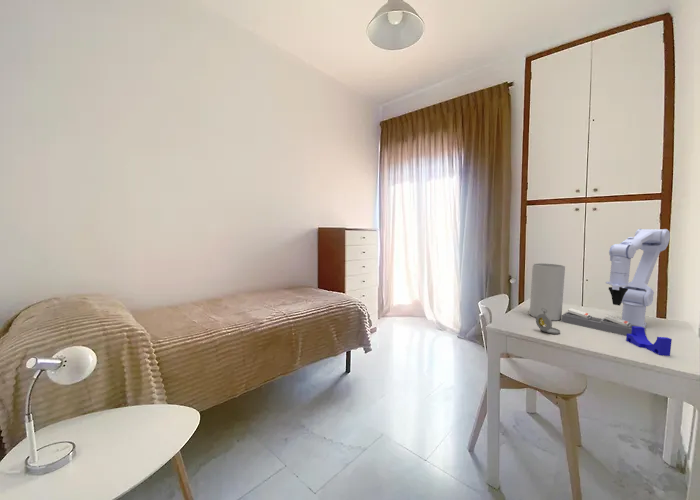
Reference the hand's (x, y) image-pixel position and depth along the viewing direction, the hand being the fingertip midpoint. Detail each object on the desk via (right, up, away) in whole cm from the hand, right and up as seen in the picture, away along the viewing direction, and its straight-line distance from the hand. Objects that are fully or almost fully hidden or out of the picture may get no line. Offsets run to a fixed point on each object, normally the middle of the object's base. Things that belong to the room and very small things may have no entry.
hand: (616, 304), depth 118 cm
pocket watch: (-31, -11, -3) cm, 33 cm away
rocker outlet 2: (-2, -7, -2) cm, 7 cm away
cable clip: (-6, -12, -18) cm, 23 cm away
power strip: (-5, -10, +2) cm, 11 cm away
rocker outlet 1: (-10, -6, +8) cm, 14 cm away
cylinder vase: (-19, -9, +16) cm, 27 cm away
